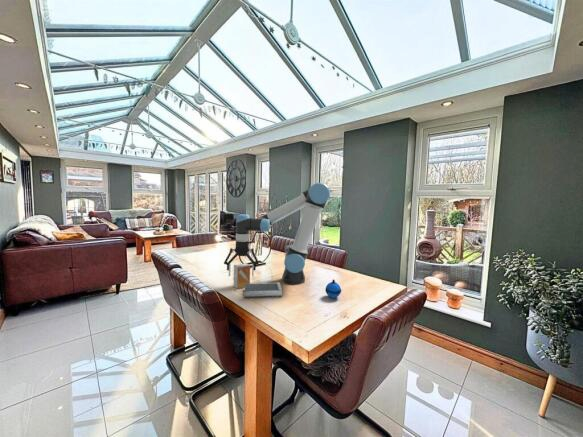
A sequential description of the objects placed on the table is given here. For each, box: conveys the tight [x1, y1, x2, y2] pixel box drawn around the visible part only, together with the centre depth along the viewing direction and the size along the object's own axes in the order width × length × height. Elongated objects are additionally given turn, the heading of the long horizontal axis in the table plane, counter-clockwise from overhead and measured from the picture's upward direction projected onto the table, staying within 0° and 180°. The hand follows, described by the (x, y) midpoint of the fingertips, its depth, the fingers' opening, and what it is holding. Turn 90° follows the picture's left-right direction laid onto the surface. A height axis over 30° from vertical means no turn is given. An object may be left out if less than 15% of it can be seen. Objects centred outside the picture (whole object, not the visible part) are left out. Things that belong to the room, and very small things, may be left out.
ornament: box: [325, 279, 342, 299], centre depth 136 cm, size 9×9×10 cm
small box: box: [233, 262, 251, 290], centre depth 148 cm, size 8×6×13 cm
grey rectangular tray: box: [243, 281, 283, 299], centre depth 139 cm, size 20×13×4 cm, turn 99°
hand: (241, 275), depth 148 cm, fingers open, 13 cm apart
